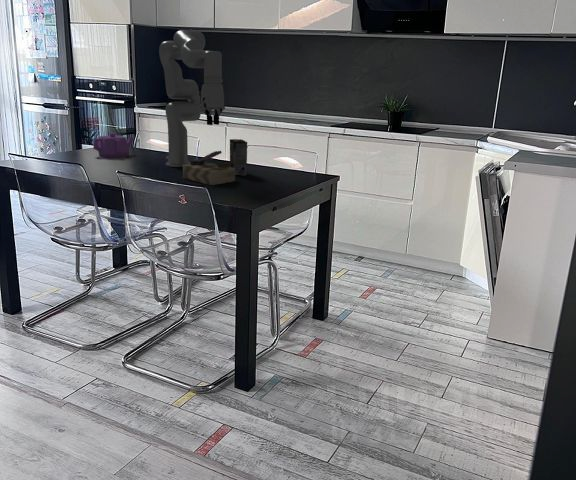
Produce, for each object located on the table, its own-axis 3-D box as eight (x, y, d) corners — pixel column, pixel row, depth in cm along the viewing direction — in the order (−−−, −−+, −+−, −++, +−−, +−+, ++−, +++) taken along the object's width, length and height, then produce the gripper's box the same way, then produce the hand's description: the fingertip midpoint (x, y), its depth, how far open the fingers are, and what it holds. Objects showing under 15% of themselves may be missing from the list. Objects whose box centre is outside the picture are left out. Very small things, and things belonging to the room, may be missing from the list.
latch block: (182, 177, 256) (182, 159, 253) (206, 174, 266) (206, 156, 263) (211, 185, 243) (211, 166, 241) (235, 181, 253) (235, 162, 251)
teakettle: (92, 157, 299) (90, 134, 295) (106, 152, 315) (104, 130, 311) (122, 159, 297) (121, 135, 293) (135, 154, 313) (133, 132, 309)
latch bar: (194, 164, 256) (193, 162, 256) (200, 163, 259) (200, 161, 259) (214, 153, 245) (214, 151, 245) (221, 152, 248) (221, 150, 248)
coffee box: (229, 172, 273) (229, 139, 268) (241, 171, 275) (242, 138, 270) (234, 175, 265) (234, 141, 260) (247, 175, 267) (247, 141, 262)
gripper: (221, 80, 248) (221, 122, 253) (192, 80, 236) (192, 124, 242) (232, 81, 243) (232, 124, 249) (203, 81, 231) (204, 126, 237)
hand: (213, 124), depth 245 cm, fingers open, 3 cm apart
